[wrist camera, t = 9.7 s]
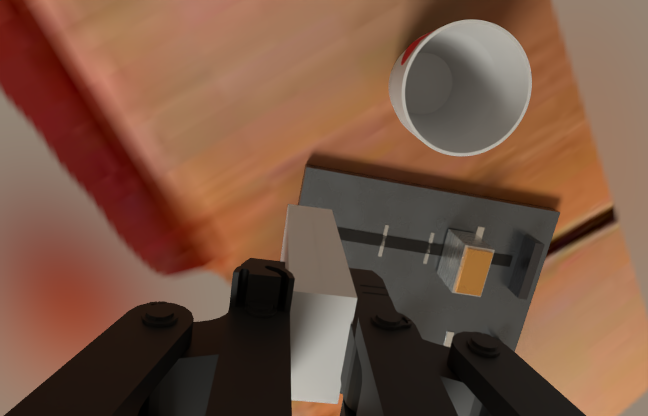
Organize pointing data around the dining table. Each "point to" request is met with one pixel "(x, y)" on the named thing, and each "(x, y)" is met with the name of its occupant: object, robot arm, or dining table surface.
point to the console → (436, 248)
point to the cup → (462, 87)
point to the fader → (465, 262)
